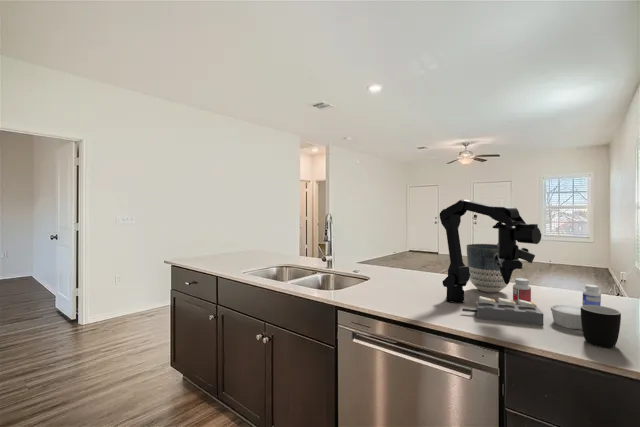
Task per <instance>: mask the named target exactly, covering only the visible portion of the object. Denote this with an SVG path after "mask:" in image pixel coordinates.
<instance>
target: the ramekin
mask: <svg viewBox="0 0 640 427" xmlns="http://www.w3.org/2000/svg"><path fill="white" fill-rule="evenodd" d="M550 311H551V314H552V320H553V322H554V323H555V324H556V325H557V326H560V327H563V328H567V329H570V330H571V329H572V330H582V324H581V307H580V306H579V307H578V306H575V305H574V306H573V305H564V304H560V305H559V304H556V305H552V306H550Z"/></svg>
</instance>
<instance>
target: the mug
mask: <svg viewBox="0 0 640 427" xmlns="http://www.w3.org/2000/svg"><path fill="white" fill-rule="evenodd" d="M580 308H581V324H582V329H581V331H582V334H583V338H584V340H585V342H586V343H587V344H590V345H592V346H595V347H599V348H602V349H603V348H604V349H611V348H614V347H615V346H616V345H617V343H618V339H619V335H620V329H621V322H622V321H621V320H622V317H621V316H622V313H621V311H620V310H617V309H616V308H612V307H608V306H603V305H601V306H597V305H583V304H582V305H581V306H580Z"/></svg>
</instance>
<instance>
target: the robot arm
mask: <svg viewBox="0 0 640 427" xmlns="http://www.w3.org/2000/svg"><path fill="white" fill-rule="evenodd" d="M467 212H472V213H475V214H480V215H483V216H487V217H489V218H491V219H492V220H495V221H496V223H495V224H494V225H493V226H492V229H498V231H497V232H498V233H497V235H498V237H497V238H498V239H497V241H498V242H497V244H496V245H497V246H498V253H496V254H494V261H496V260H499V263H496V264H497V266H498V268H499V271H500V273H501V275H502V278H503V280H504V283H505V284H508V285H509V283H510V280H511V277H512V274H513V272H514V271H515V270H523V263H522V261H520V260H523V261H526V262H527V263H529V264H533V262H534V259H535V257H536V254H534V253H531V252H530V251H529V249H528V248H526V247H522V248H519V245H518V244H517V243H521V244H530V245H531V244H532V245H539V243H540V242H541V241H542V233H541V230H540V227H538V226H539V225H538V223H526V222H525V220H524V219H523V218H522V216H521V215H520V211H519V210H518V208H516V207H513V206H494V205H490V204H486V203H482V202H476V201H473V200H469V199H459V200H458V201H457V202H455V203H453V204H451V205H449V206H447V207H446V208H443V209H441V211H440V212H439V219H440V223H441V225H442V226H443V228H444V230H445V232H446V233H445V235H446V240H447V241H446V242H447V248H448V256H449V266H448V269H447V276H446V277H445V278H444V279H443V280H442V286H443V287H445V288H446V298H445V301H446V303H447V302H449V303H457V304H458V303H459V304H464V301H465V290H464V287H466V286H467V283H468V282H469V281H470V276H471V275H470V272H469V266H468V265H467V266H466V265H465V263H464V260H463V255H462V254H463V253H462V248H461V247H462V246H461V241H460V233H459V227H460V224H461V221H462V220H461V218H462V216H464V215H465V214H466V213H467Z"/></svg>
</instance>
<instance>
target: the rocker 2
mask: <svg viewBox="0 0 640 427" xmlns="http://www.w3.org/2000/svg"><path fill="white" fill-rule="evenodd" d="M497 301H498V303H499V304H506V305H510V306H514V307H515V304H516V303H515V302H514V301H513V300H511V299H506V298H501V297H498V299H497Z"/></svg>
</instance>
